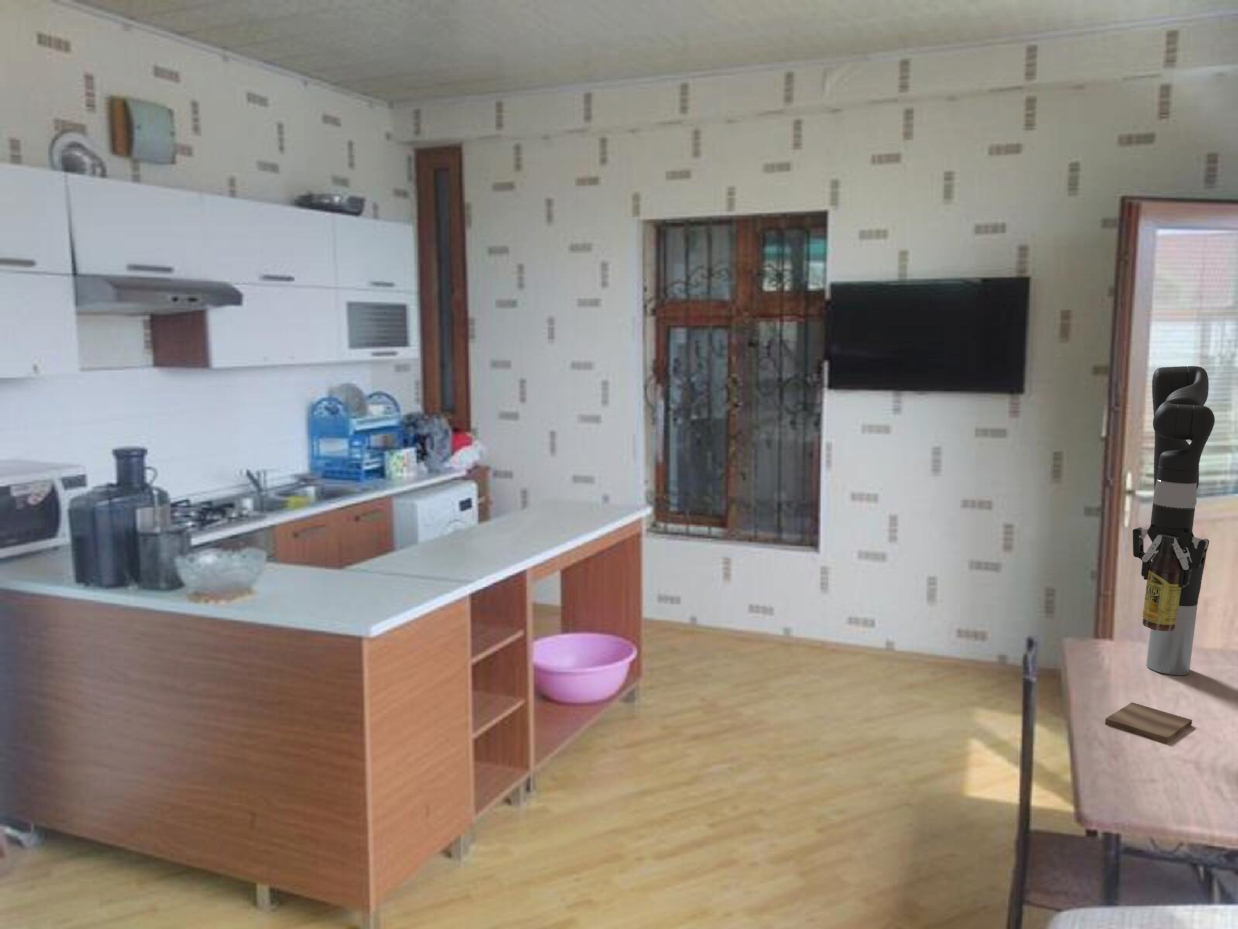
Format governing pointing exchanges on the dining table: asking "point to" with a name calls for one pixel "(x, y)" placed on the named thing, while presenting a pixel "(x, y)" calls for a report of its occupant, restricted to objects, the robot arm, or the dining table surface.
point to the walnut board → (1148, 722)
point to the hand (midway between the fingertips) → (1164, 582)
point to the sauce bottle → (1163, 588)
